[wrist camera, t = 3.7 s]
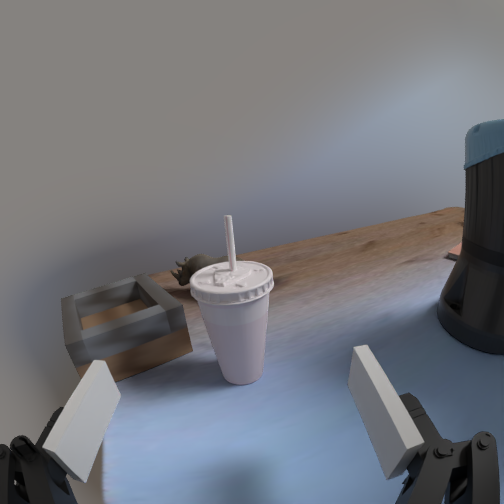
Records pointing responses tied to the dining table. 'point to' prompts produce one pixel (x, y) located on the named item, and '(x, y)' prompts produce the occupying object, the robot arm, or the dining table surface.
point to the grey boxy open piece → (124, 327)
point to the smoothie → (235, 311)
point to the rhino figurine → (196, 266)
